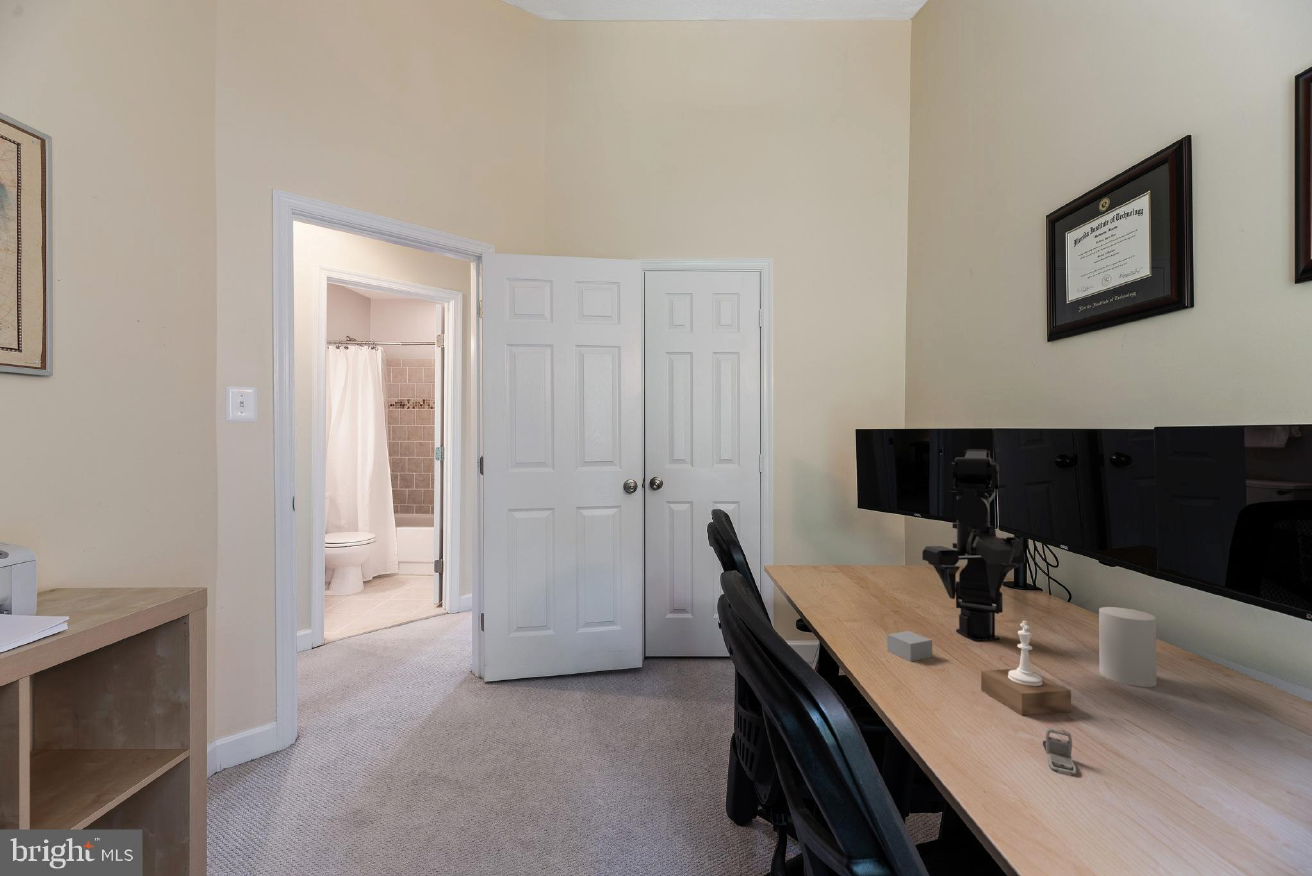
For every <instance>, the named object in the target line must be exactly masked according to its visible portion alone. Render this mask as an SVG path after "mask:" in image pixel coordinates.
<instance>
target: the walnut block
mask: <svg viewBox="0 0 1312 876" xmlns="http://www.w3.org/2000/svg"><path fill="white" fill-rule="evenodd" d="M1011 670H1017V668H1008V669H1007V668H1006V669H1005V668H1003V669H990V670H987V669H986V670H981V671H980V673H981V674H980V676H981V677H980V682H981V683H980V684H981V685H980V686H981V687H980V688H981V689H980V690H982V691H981V692H983V693H984V692H985V693H984V694H986V695H988V696H989V697H991V698H992V699H994V700H996V699H997V700H996V701H998V702H999V701H1000V702H999V703H1001V704H1002V705H1005V706H1006V707H1007V706H1008V707H1007V708H1009V709H1010V710H1012V711H1014V712H1016V713H1017V714H1019V715H1020V716H1032V715H1033V716H1034V715H1044V714H1055V713H1056V714H1061V713H1071V712H1072V690H1071V689H1069V688H1067V687H1065V686H1063V685H1062V684H1059V683H1057V682H1055V681H1053V680H1051V679H1050V678H1047V677H1045V676H1043V675H1041V674H1039V673H1037V672H1035V671H1033V673H1035V674H1037V675H1039V676H1040V677H1041V678H1042V683H1043V684H1042V685H1040V686H1028V685H1023V684H1019V683H1017V682H1014V681H1012V680H1010V679H1009V678H1008V675H1009V674H1008V672H1009V671H1011Z"/></svg>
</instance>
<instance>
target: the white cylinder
mask: <svg viewBox="0 0 1312 876" xmlns="http://www.w3.org/2000/svg"><path fill="white" fill-rule="evenodd" d="M1098 623H1099V624H1098V625H1099V627H1098V628H1099V629H1098V634H1099V635H1098V641H1099V643H1098V645H1099V648H1098V649H1099V650H1098V651H1099V656H1098V657H1099V658H1098V659H1099V662H1098V663H1099V667H1098V668H1099V674H1100V675H1101V676H1103V677H1104V678H1106V679H1108V680H1111V681H1114V682H1116V683H1120V684H1124V685H1129V686H1133V687H1141V688H1143V687H1144V688H1151V687H1155V686H1157V617H1156V616H1154V615H1153V614H1151V613H1148V612H1145V611H1141V610H1137V609H1132V608H1126V607H1118V606H1117V607H1116V606H1115V607H1114V606H1105V607H1104V606H1103V607H1100V608H1099V609H1098Z"/></svg>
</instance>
